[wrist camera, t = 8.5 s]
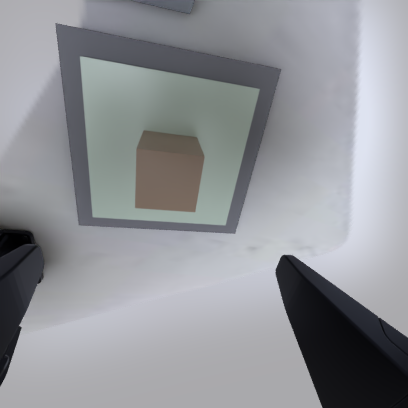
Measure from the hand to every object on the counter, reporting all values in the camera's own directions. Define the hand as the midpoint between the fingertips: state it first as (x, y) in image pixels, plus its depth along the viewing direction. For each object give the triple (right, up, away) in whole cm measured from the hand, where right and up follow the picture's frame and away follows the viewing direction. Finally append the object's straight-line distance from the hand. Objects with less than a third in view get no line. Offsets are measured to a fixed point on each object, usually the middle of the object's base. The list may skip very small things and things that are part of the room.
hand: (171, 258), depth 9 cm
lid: (-2, +6, +10) cm, 12 cm away
